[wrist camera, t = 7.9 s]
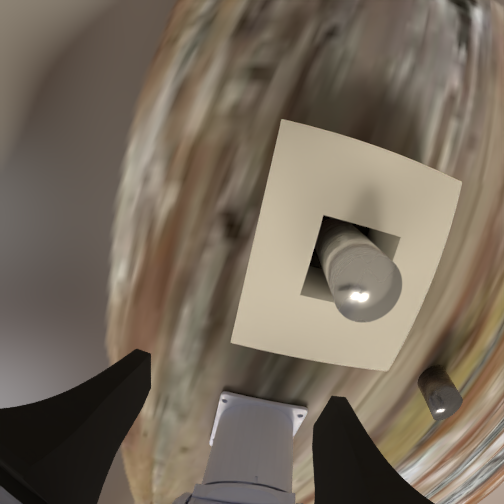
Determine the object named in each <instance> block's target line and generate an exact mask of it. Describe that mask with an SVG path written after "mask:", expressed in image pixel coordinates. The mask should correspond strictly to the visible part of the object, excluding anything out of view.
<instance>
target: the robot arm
mask: <svg viewBox="0 0 504 504" xmlns="http://www.w3.org/2000/svg"><path fill="white" fill-rule="evenodd" d="M150 389H151V354H150V353H147V352H145V351H142V350H139V349H135V350H134V351H132V352H131V353H129V354H128V355H127V356H125V357H124V358H122V359H121V360H119V361H118V362H116V363H115V364H114V365H112V366H111V367H109V368H107V369H106V370H104V371H103V372H101V373H100V374H98V375H97V376H95V377H93V378H91V379H89V380H87V381H86V382H84V383H82V384H80V385H79V386H76V387H74V388H72V389H70V390H68V391H66V392H63V393H61V394H59V395H56V396H53V397H50V398H48V399H45V400H42V401H38V402H35V403H31V404H27V405H22V406H17V407H11V408H3V409H0V504H97V502H98V499H99V496H100V493H101V490H102V487H103V484H104V482H105V479H106V476H107V474H108V471H109V469H110V466H111V464H112V461H113V459H114V457H115V454H116V452H117V450H118V449H119V447H120V445H121V443H122V441H123V440H124V438H125V436H126V435H127V433H128V431H129V430H130V428H131V426H132V425H133V423H134V421H135V419H136V418H137V416H138V414H139V413H140V411H141V409H142V407H143V405H144V403H145V401H146V398H147V396H148V394H149V391H150ZM224 399H226V400H224ZM307 413H308V409H307V408H306V407H303V406H296V405H290V404H284V403H279V402H273V401H268V400H263V399H258V398H253V397H249V396H244V395H240V394H235V393H231V392H227V391H224V392H222V393H221V395H220V400H219V404H218V408H217V412H216V417H215V421H214V425H213V429H212V434H211V438H210V442H209V444H210V445H211V446H212V448H211V452H210V455H209V459H208V463H207V466H206V470H205V474H204V477H203V481H202V484H195V488H194V491H193V493H189V492H186V493H184V494H182V495H181V496H179V497H177V498H176V499H175V500H174V501H173V503H172V504H295V493H292V469H293V437H294V435H295V434H296V432H297V430H298V429H299V427H300V425H301V423H302V422H303V420H304V418H305V416H306V415H307ZM299 414H301V415H299ZM312 451H313V467H314V483H315V503H314V504H435V503H433V502H431V501H430V500H429V499H427V498H426V497H424V496H423V495H422V494H420V493H419V492H418V491H417V490H415V489H414V488H413V487H412V486H411V485H410V484H409V483H407V482H406V481H405V480H404V479H403V478H402V477H401V476H400V475H399V474H398V473H397V472H396V471H395V469H394V468H393V467H392V466H391V465H390V464H389V463H388V461H387V460H386V459H385V458H384V456H383V455H382V454H381V452H380V451H379V450H378V448H377V447H376V446H375V444H374V443H373V441H372V440H371V438H370V437H369V435H368V434H367V432H366V430H365V429H364V427H363V426H362V424H361V422H360V421H359V419H358V417H357V416H356V414H355V412H354V411H353V409H352V407H351V405H350V404H349V402H348V400H347V399H346V397H338V396H331V398H330V400H329V401H328V403H327V405H326V406H325V408H324V410H323V411H322V413H321V414H320V416H319V418H318V419H317V421H316V422H315V424H314V428H313V443H312ZM296 504H303V503H296Z"/></svg>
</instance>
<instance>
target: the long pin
mask: <svg viewBox="0 0 504 504" xmlns="http://www.w3.org/2000/svg"><path fill="white" fill-rule="evenodd" d="M315 250H316V252H317V255H318V258H319V260H320V263H321V266H322V269H323V271H324V274H325V277H326V280H327V282H328V285H329V288H330V291H331V294H332V297H333V299H334V302H335V305H336V307H337V309H338V311H339V312H340V313H341V314H342V315H343V316H344V317H346V318H347V319H349V320H351V321H355V322H361V323H365V322H371V321H375V320H377V319H379V318H381V317H383V316H385V315H386V314H387V313H389V312H390V311H391V310H392V309H393V307H394V306H395V305H396V303H397V302H398V299H399V297H400V295H401V291H402V276H401V273H400V271H399V269H398V267H397V266H396V264H395V263H394V262H393V261H392V260H391V259H390V258H388V257H387V256H386V255H385V254H384V253H383V252H382V251H381V250H380V249H379V248H378V247H377V246H376V245H374V244H373V243H372V242H371V241H370V240H369V239H368V238H367V237H366V236H365V235H363V234H362V233H361V232H360V231H359V230H358V229H357V228H355V227H354V226H353V225H352V224H351V223H350V222H347V221H344V220H340V219H336V218H331V219H328V220H326V221H324V222H323V223H321V226H320V230H319V233H318V237H317V240H316V244H315Z"/></svg>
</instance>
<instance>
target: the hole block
mask: <svg viewBox="0 0 504 504" xmlns="http://www.w3.org/2000/svg"><path fill="white" fill-rule="evenodd" d="M461 186H462V182H461V181H459V180H457V179H455V178H453V177H451V176H448V175H446V174H444V173H442V172H440V171H438V170H435V169H433V168H431V167H429V166H426V165H424V164H422V163H419V162H417V161H414V160H412V159H409V158H407V157H404V156H402V155H399V154H397V153H394V152H391V151H389V150H386V149H383V148H381V147H378V146H375V145H372V144H369V143H366V142H363V141H360V140H357V139H354V138H351V137H348V136H344V135H341V134H338V133H334V132H331V131H327V130H324V129H320V128H316V127H313V126H309V125H305V124H301V123H297V122H293V121H288V120H284V119H282V120H281V124H280V128H279V133H278V137H277V141H276V146H275V150H274V154H273V159H272V163H271V167H270V172H269V176H268V180H267V185H266V189H265V194H264V198H263V202H262V207H261V211H260V215H259V220H258V224H257V228H256V233H255V237H254V242H253V246H252V250H251V255H250V259H249V263H248V268H247V272H246V276H245V281H244V285H243V290H242V294H241V298H240V303H239V307H238V311H237V316H236V320H235V325H234V329H233V333H232V338H231V342H230V343H234V344H238V345H242V346H246V347H250V348H254V349H259V350H263V351H268V352H272V353H277V354H282V355H287V356H291V357H297V358H302V359H307V360H313V361H318V362H324V363H330V364H336V365H343V366H349V367H356V368H364V369H372V370H380V371H388V370H389V369H390V367H391V365H392V363H393V362H394V360H395V358H396V356H397V354H398V352H399V351H400V349H401V347H402V345H403V343H404V341H405V339H406V337H407V335H408V333H409V331H410V329H411V327H412V325H413V323H414V321H415V319H416V317H417V315H418V312H419V310H420V308H421V306H422V303H423V301H424V299H425V297H426V294H427V292H428V289H429V287H430V285H431V282H432V280H433V277H434V274H435V272H436V269H437V266H438V264H439V261H440V258H441V255H442V252H443V250H444V247H445V244H446V240H447V237H448V234H449V231H450V228H451V224H452V221H453V217H454V214H455V210H456V206H457V202H458V198H459V194H460V190H461ZM323 215H325V216H329V217H333V218H336V219H340V220H344V221H347V222H351V223H354V224H358V225H361V226H365V227H368V228H370V229H369V232H368V235H367V238H368V239H369V240H370V241H371V242H372V243H373V244H374V245H376V246H377V247H378V248H379V249H380V250H381V251H382V252H383V253H384V254H385V255H386V256H387V257H388V258H390V259H391V260H392V261H393V262H394V263H395V264H396V266H397V267H398V269H399V271H400V273H401V276H402V291H401V295H400V297H399V299H398V302H397V303H396V305H395V306H394V307H393V309H392V310H391V311H390V312H389V313H387V314H386V315H385V316H383V317H381V318H379V319H377V320H375V321H371V322H365V323H361V322H355V321H351V320H349V319H347V318H346V317H344V316H343V315H342V314H341V313H340V312H339V311H338V309H337V307H336V305H335V302H334V299H333V297H332V294H331V291H330V288H329V285H328V282H327V280H326V277H325V274H324V271H323V269H320V268H315V267H311V266H309V264H310V261H311V257H312V254H313V251H314V247H315V244H316V240H317V237H318V233H319V230H320V226H321V222H322V219H323Z"/></svg>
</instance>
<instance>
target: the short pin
mask: <svg viewBox="0 0 504 504" xmlns="http://www.w3.org/2000/svg"><path fill="white" fill-rule="evenodd" d="M418 386H419V388H420V391H421V393H422V395H423V397H424V399H425V401H426V403H427V405H428V407H429V410H430V412H431V414H432V416H433V418H434V419H435V420H443V419H446V418H448V417H450V416H451V415H453V414H454V413H455V412H456V411H457V410H458V409H459V408H460V406H461V404H462V401H463V399H462V397H461V395H460V394H459V392H458V390H457V389H456V387H455V385H454V384H453V382H452V380H451V379H450V377H449V376H448V374H447V372H446V371H445V369H444V368H443V367H442V366H440V365H435V366H432V367H430V368H428V369H427V370H426V371H424V372H423V373H422V374H421V376H420V377H419V379H418Z"/></svg>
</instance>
